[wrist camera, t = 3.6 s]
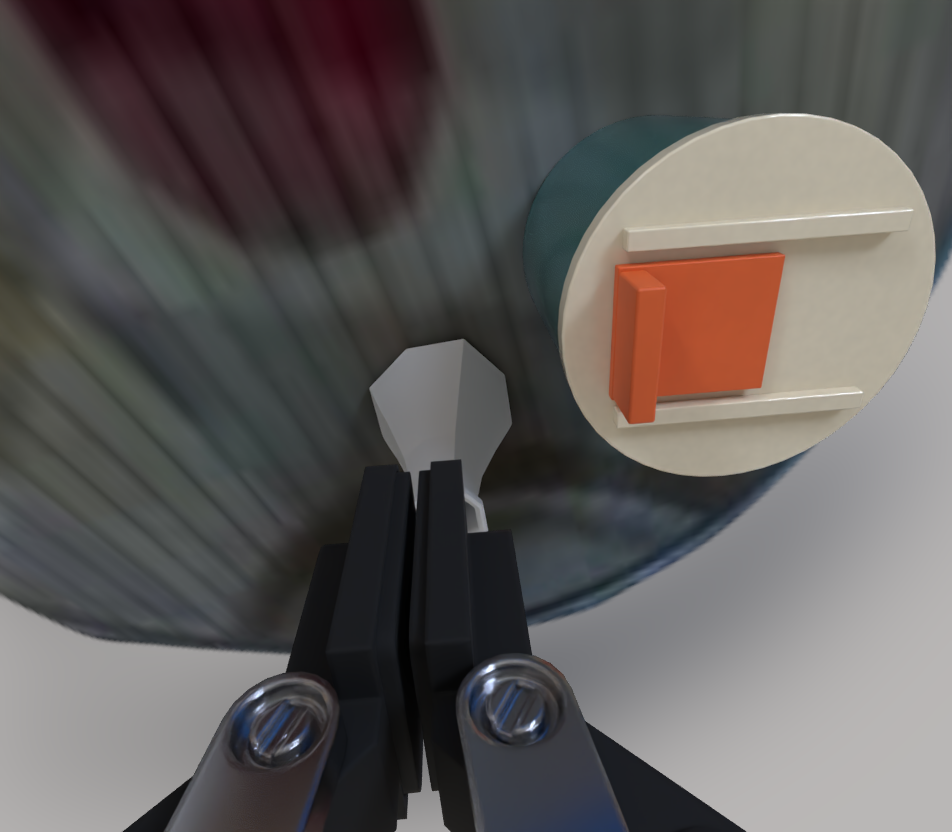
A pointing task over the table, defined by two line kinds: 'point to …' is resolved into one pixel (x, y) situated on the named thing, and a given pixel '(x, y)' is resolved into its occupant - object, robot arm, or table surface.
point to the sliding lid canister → (728, 234)
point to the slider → (690, 328)
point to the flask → (444, 414)
